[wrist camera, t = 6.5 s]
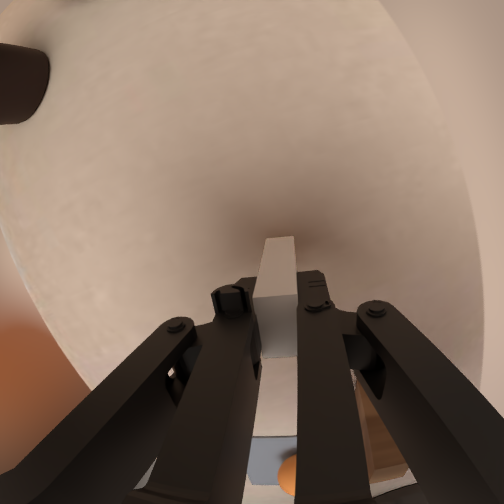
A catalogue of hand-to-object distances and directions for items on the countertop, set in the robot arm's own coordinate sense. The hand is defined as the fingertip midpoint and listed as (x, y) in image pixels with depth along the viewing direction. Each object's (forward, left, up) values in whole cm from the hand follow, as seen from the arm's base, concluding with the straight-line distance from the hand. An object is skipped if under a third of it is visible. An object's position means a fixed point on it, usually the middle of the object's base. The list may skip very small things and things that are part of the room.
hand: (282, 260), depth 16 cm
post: (-13, -6, -2) cm, 15 cm away
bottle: (+17, +19, -2) cm, 26 cm away
